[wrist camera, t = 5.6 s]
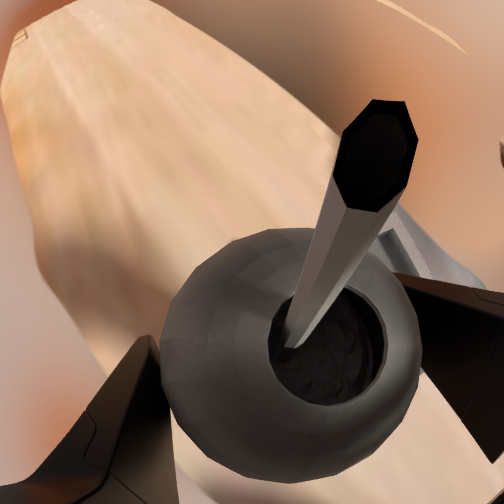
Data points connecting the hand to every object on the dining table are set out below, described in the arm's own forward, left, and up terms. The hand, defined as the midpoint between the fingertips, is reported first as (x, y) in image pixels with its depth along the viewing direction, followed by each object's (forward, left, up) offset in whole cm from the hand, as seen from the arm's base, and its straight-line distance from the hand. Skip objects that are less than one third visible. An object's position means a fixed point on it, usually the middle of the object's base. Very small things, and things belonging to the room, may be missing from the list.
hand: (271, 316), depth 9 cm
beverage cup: (-1, 0, -11) cm, 11 cm away
